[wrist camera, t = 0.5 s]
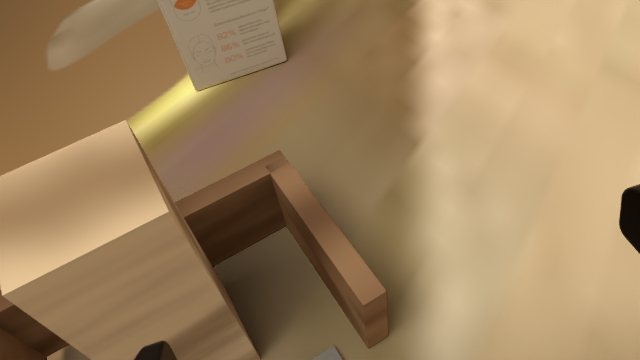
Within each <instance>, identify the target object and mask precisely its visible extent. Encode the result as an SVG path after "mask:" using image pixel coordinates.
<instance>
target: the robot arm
mask: <svg viewBox="0 0 640 360" xmlns="http://www.w3.org/2000/svg"><path fill="white" fill-rule="evenodd" d="M619 225H620V229H621V232H622V233H623V235H624V236H625V238H626V239H627V240H628V241H629V242H630V243H631V244H632V246H633V247H634V248H635V249H636V250H637V251H638V252H639V253H640V184H639V185H636V186H633V187H630V188H627V189H626V190H625V191H624V192H623V194H622V199H621V209H620V219H619ZM134 360H177V358H176V356H175V354H174V352H173V350H172V349H171V347H170V345H169V344H168V343H167V342H166V341H163V340H162V341H159V342H156V343H153V344H150V345H146V346H144V347H143V348H142V349H141V350H140V351H139V352H138V354H137V355H136V357H135V359H134Z"/></svg>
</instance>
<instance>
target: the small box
mask: <svg viewBox="0 0 640 360" xmlns="http://www.w3.org/2000/svg"><path fill="white" fill-rule="evenodd" d="M157 1H158V4H159V6H160V8H161V11H162V13H163V15H164V17H165V20H166V22H167V25H168V27H169V29H170V32H171V34H172V36H173V39H174V41H175V44H176V46H177V48H178V51H179V53H180V55H181V57H182V60H183V62H184V64H185V67H186V69H187V71H188V74H189V76H190V79H191V81H192V83H193V86H194V88H195V90H196V91H200V90H202V89H205V88H208V87H211V86H214V85H217V84H220V83H223V82H226V81H229V80H232V79H235V78H238V77H241V76H244V75H247V74H250V73H253V72H256V71H259V70H261V69H264V68H267V67H270V66H273V65H276V64H279V63H282V62H285V61H286V60H287V57H286V52H285V48H284V44H283V40H282V35H281V31H280V26H279V22H278V18H277V13H276V9H275V4H274V0H157Z"/></svg>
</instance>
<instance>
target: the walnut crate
mask: <svg viewBox="0 0 640 360" xmlns="http://www.w3.org/2000/svg"><path fill="white" fill-rule="evenodd" d="M175 204H176V206H177V208H178V209H179V211H180V213H181V214H182V216H183V218H184V219H185V221H186V223H187V224H188V226H189V228H190V230H191V231H192V233H193V235H194V236H195V238H196V240H197V241H198V243H199V245H200V246H201V248H202V250H203V252H204V253H205V255H206V257H207V258H208V260H209V262H210V263H211V265H212V266H214V265H215V264H217V263H219V262H221V261H223V260H224V259H226V258H228V257H230V256H232V255H234V254H235V253H237V252H239V251H241V250H243V249H245V248H246V247H248V246H250V245H252V244H254V243H256V242H257V241H259V240H261V239H263V238H265V237H267V236H268V235H270V234H272V233H274V232H276V231H278V230H279V229H281V228H283V227H285V226H287V227H288V229H289V230H290V232H291V233H292V235H293V236H294V238H295V239H296V241H297V242H298V244H299V245H300V247H301V248H302V250H303V251H304V253H305V254H306V256H307V257H308V259H309V260H310V262H311V263H312V265H313V266H314V268H315V269H316V271H317V272H318V274H319V275H320V277H321V278H322V280H323V281H324V283H325V284H326V286H327V287H328V289H329V290H330V292H331V293H332V295H333V296H334V298H335V299H336V301H337V302H338V304H339V305H340V307H341V308H342V310H343V311H344V313H345V314H346V316H347V317H348V319H349V320H350V322H351V323H352V325H353V326H354V328H355V329H356V331H357V332H358V334H359V335H360V337H361V338H362V340H363V341H364V342H365V344H366V345H367V347H368V348H370V347H372V346H373V345H375V344H377V343H378V342H380V341H381V340H383V339H384V338H386V337H387V336H388V314H387V291H386V290H385V288H384V287H383V286H382V284H381V283H380V282H379V280H378V279H377V278H376V276H375V275H374V274H373V272H372V271H371V270H370V269H369V267H368V266H367V265H366V263H365V262H364V261H363V259H362V258H361V257H360V255H359V254H358V253H357V251H356V250H355V249H354V247H353V246H352V245H351V243H350V242H349V241H348V240H347V238H346V237H345V236H344V234H343V233H342V232H341V230H340V229H339V228H338V226H337V225H336V224H335V222H334V221H333V220H332V218H331V217H330V216H329V215H328V213H327V212H326V211H325V209H324V208H323V207H322V205H321V204H320V203H319V201H318V200H317V199H316V197H315V196H314V195H313V193H312V192H311V191H310V189H309V188H308V187H307V186H306V184H305V183H304V182H303V180H302V179H301V178H300V176H299V175H298V174H297V172H296V171H295V170H294V168H293V167H292V166H291V164H290V163H289V162H288V161H287V159H286V158H285V157H284V155H283V154H282V153H281V151H280V150H279V151H277V152H275V153H273V154H271V155H269V156H267V157H265V158H263V159H261V160H259V161H257V162H255V163H253V164H251V165H249V166H247V167H245V168H243V169H241V170H239V171H237V172H235V173H233V174H231V175H229V176H227V177H225V178H223V179H221V180H219V181H217V182H215V183H213V184H211V185H209V186H207V187H205V188H203V189H201V190H199V191H197V192H195V193H193V194H191V195H189V196H187V197H185V198H183V199H181V200H179V201H177V202H175ZM67 345H69V343H67V342H66V341H65V340H63V339H62V338H60V337H59V336H58V335H56V334H55V333H53V332H52V331H51V330H49V329H48V328H46V327H45V326H44V325H42V324H41V323H39V322H38V321H37V320H35V319H34V318H32V317H31V316H30V315H28V314H27V313H26V312H24V311H23V310H21V309H20V308H19V307H17V306H16V305H14V304H13V303H12V302H10V301H9V300H7V299H6V298H5V297H3V296H2V291H1V290H0V360H47V358H46V357H47V356H49V355H51V354H53V353H54V352H56V351H58V350H60V349H62V348H64V347H65V346H67Z"/></svg>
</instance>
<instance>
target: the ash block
mask: <svg viewBox="0 0 640 360" xmlns="http://www.w3.org/2000/svg"><path fill="white" fill-rule="evenodd" d="M0 283H1V291H2V296H3V297H5V298H6V299H7V300H9V301H10V302H12V303H13V304H14V305H16V306H17V307H19V308H20V309H21V310H23V311H24V312H26V313H27V314H28V315H30V316H31V317H32V318H34V319H35V320H37V321H38V322H39V323H41V324H42V325H44V326H45V327H46V328H48V329H49V330H51V331H52V332H53V333H55V334H56V335H58V336H59V337H60V338H62V339H63V340H65V341H66V342H67V343H69V344H70V345H71V346H73V347H74V348H76V349H77V350H78V351H80V352H81V353H83V354H84V355H85V356H87V357H88V358H90V359H91V360H134V359H135V357H136V355H137V354H138V352H139V351H140V350H141V349H142V348H143V347H144V346H146V345H150V344H153V343H156V342H159V341H162V340H163V341H166V342H167V343H168V344H169V345H170V347H171V349H172V350H173V352H174V354H175V356H176V358H177V360H261V359H260V357H259V355H258V353H257V351H256V349H255V347H254V345H253V343H252V341H251V339H250V337H249V335H248V333H247V331H246V329H245V327H244V325H243V323H242V321H241V319H240V317H239V315H238V313H237V311H236V309H235V307H234V305H233V303H232V301H231V299H230V297H229V295H228V293H227V291H226V289H225V287H224V285H223V284H222V282H221V280H220V279H219V277H218V275H217V274H216V272H215V270H214V268H213V267H212V265H211V263H210V262H209V260H208V258H207V257H206V255H205V253H204V252H203V250H202V248H201V246H200V245H199V243H198V241H197V240H196V238H195V236H194V235H193V233H192V231H191V230H190V228H189V226H188V224H187V223H186V221H185V219H184V218H183V216H182V214H181V213H180V211H179V209H178V208H177V206H176V204H175V202H174V201H173V199H172V197H171V196H170V194H169V192H168V191H167V189H166V187H165V186H164V184H163V182H162V180H161V179H160V177H159V175H158V174H157V172H156V170H155V169H154V167H153V165H152V164H151V162H150V160H149V158H148V157H147V155H146V153H145V152H144V150H143V148H142V147H141V145H140V143H139V141H138V140H137V138H136V136H135V135H134V133H133V131H132V130H131V128H130V126H129V125H128V123H127V121H126V120H125V121H122V122H120V123H118V124H116V125H114V126H111V127H109V128H107V129H104V130H102V131H100V132H98V133H95V134H93V135H91V136H89V137H87V138H84V139H82V140H80V141H78V142H75V143H73V144H71V145H69V146H66V147H64V148H62V149H60V150H58V151H55V152H53V153H51V154H49V155H46V156H44V157H42V158H40V159H37V160H35V161H33V162H31V163H29V164H26V165H24V166H22V167H19V168H17V169H15V170H13V171H11V172H9V173H6V174H4V175H2V176H0Z"/></svg>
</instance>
